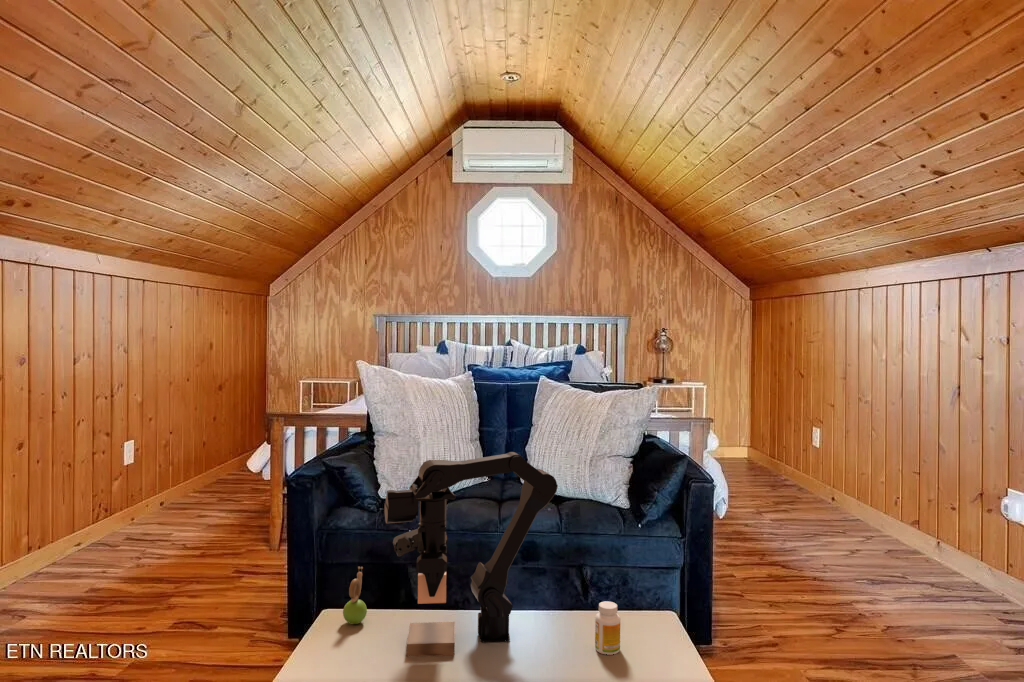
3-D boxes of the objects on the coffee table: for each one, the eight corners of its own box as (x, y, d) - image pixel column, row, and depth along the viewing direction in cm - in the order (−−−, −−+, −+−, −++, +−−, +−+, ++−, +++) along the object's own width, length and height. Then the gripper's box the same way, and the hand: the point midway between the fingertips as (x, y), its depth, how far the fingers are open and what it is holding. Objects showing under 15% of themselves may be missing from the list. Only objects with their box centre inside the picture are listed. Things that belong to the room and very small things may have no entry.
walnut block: (454, 634, 146) (454, 621, 146) (454, 656, 136) (454, 642, 136) (409, 636, 145) (410, 622, 145) (406, 658, 135) (406, 644, 135)
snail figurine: (371, 616, 154) (371, 566, 154) (362, 628, 147) (362, 576, 147) (349, 615, 154) (349, 565, 154) (339, 627, 148) (339, 575, 148)
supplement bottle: (624, 649, 139) (625, 604, 139) (610, 658, 136) (611, 612, 135) (604, 641, 143) (605, 597, 143) (589, 649, 139) (590, 604, 139)
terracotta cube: (446, 591, 144) (446, 564, 144) (446, 602, 138) (446, 574, 138) (419, 592, 143) (419, 565, 143) (417, 603, 137) (418, 575, 137)
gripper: (399, 508, 149) (398, 575, 149) (391, 533, 130) (391, 610, 130) (447, 507, 150) (446, 574, 150) (447, 532, 131) (446, 608, 132)
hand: (432, 590), depth 141 cm, fingers closed on terracotta cube, 6 cm apart
